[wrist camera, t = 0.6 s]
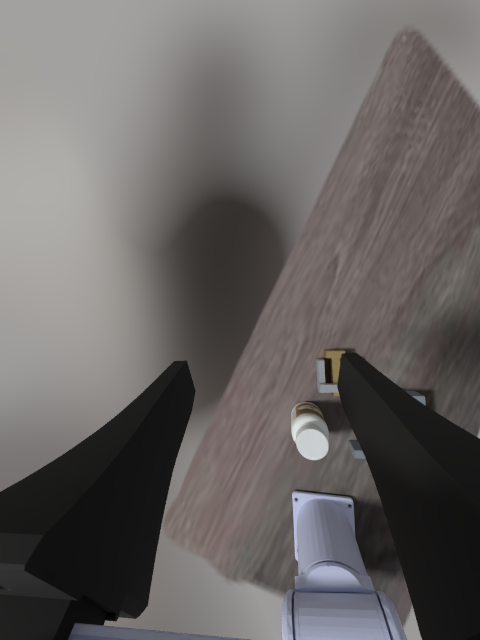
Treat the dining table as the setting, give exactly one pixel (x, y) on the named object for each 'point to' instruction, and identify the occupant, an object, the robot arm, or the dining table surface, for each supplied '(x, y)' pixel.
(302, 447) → the pill bottle
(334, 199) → the dining table surface
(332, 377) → the lock bar
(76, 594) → the robot arm
